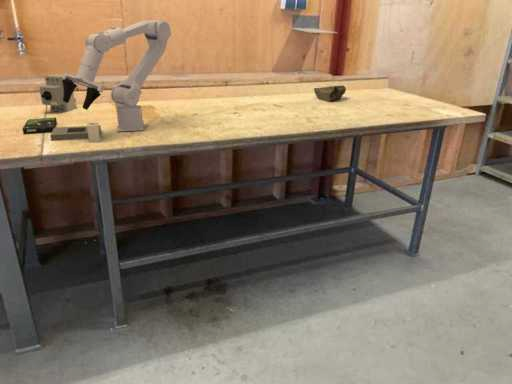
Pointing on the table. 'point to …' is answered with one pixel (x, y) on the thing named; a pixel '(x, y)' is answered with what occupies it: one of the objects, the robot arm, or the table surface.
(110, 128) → the table surface
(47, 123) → the disk drive
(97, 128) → the block
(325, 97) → the concrete fragment
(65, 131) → the outlet plate
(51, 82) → the circuit breaker
